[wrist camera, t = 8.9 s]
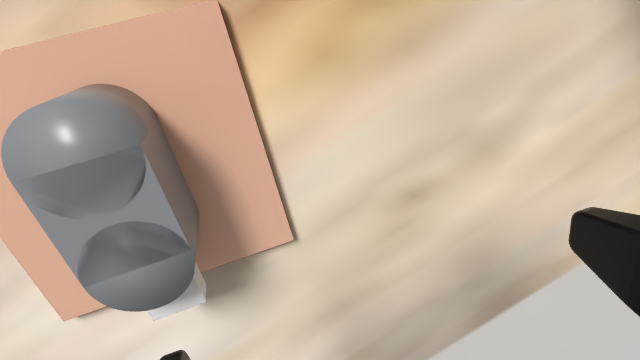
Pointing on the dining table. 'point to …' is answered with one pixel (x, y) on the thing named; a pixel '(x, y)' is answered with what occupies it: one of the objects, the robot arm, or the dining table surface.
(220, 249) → the plate
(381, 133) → the dining table surface
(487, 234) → the dining table surface
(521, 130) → the dining table surface
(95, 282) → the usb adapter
